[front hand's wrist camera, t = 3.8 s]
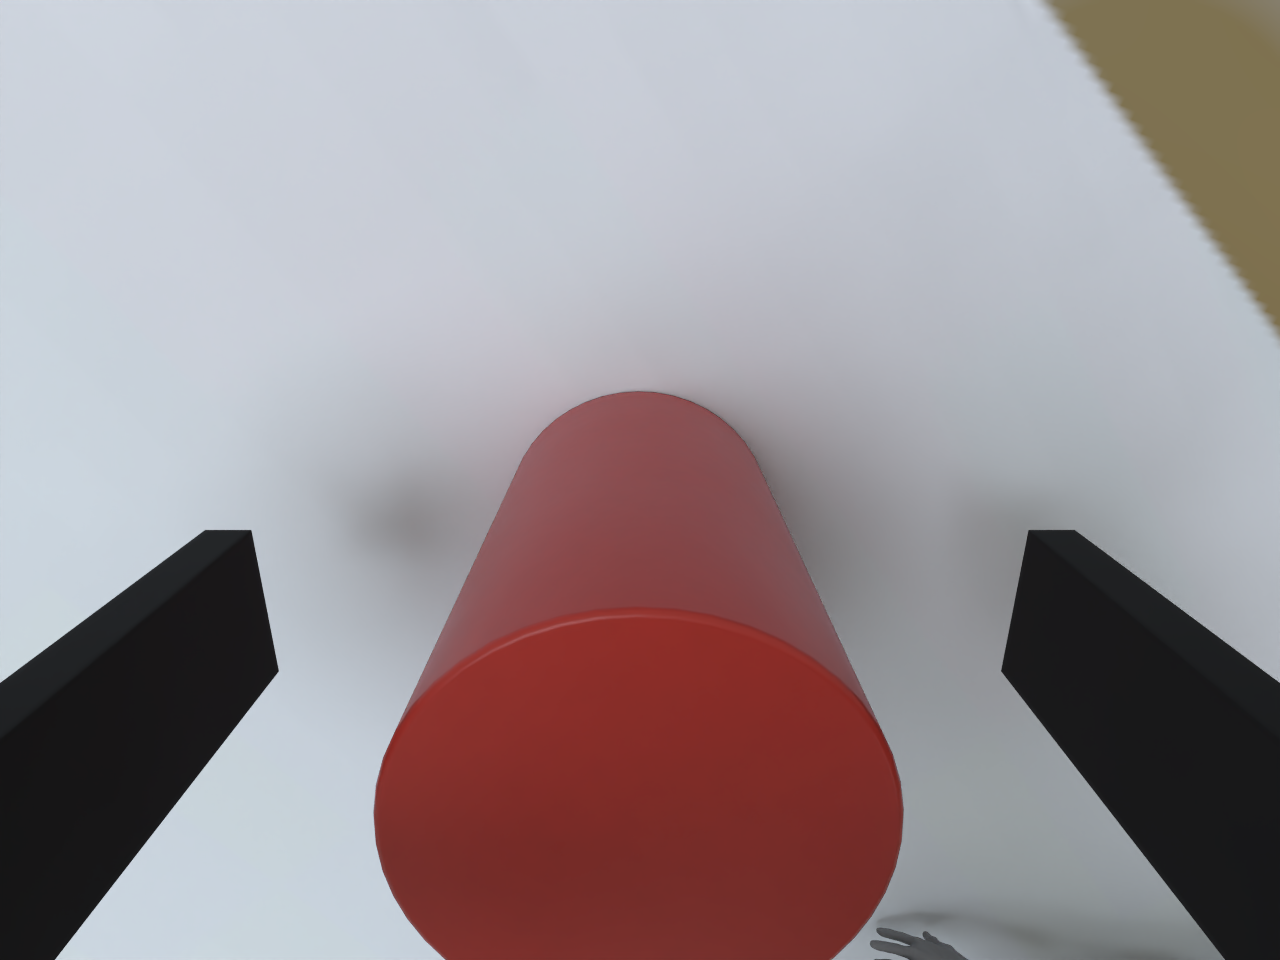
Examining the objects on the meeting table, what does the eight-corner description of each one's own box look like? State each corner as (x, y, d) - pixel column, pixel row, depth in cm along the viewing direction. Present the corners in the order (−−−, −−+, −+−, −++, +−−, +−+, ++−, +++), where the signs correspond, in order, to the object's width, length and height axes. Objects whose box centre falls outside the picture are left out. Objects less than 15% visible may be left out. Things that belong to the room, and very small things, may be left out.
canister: (486, 410, 16) (302, 649, 7) (756, 373, 15) (900, 574, 7) (536, 642, 17) (439, 1050, 9) (777, 613, 17) (910, 1003, 9)
